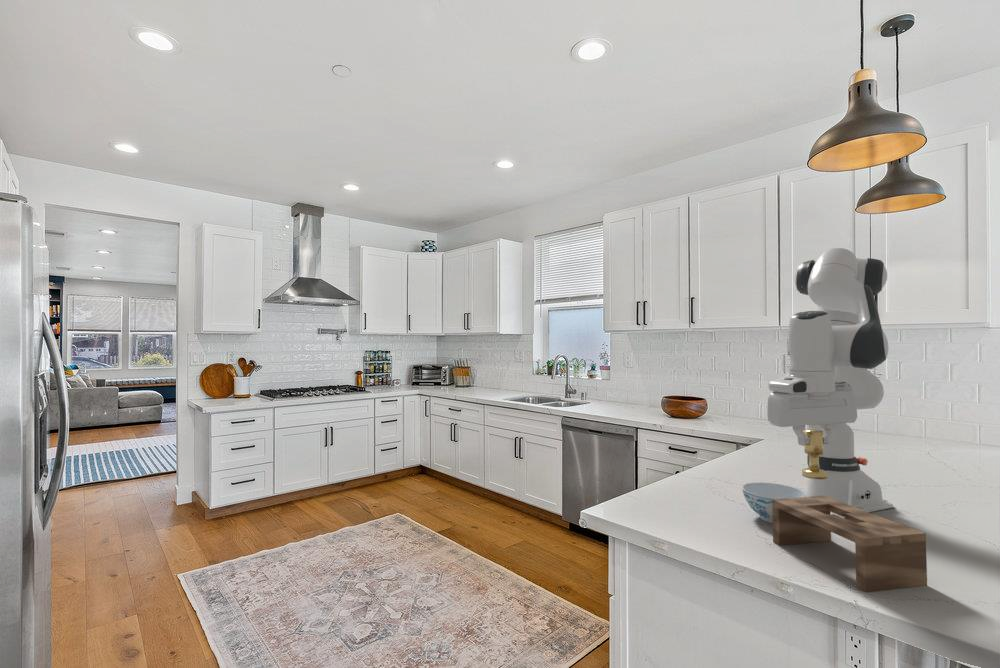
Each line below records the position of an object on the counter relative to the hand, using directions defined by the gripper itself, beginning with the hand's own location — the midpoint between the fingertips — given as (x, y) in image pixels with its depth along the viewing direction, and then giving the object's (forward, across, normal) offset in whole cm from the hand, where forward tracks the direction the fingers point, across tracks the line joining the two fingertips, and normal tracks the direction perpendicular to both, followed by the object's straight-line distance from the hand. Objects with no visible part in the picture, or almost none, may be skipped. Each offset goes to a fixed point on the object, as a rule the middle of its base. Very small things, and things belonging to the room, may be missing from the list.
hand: (813, 444), depth 110 cm
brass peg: (+7, 0, 0) cm, 7 cm away
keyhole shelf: (+24, -2, +5) cm, 25 cm away
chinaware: (+25, -5, -20) cm, 32 cm away
